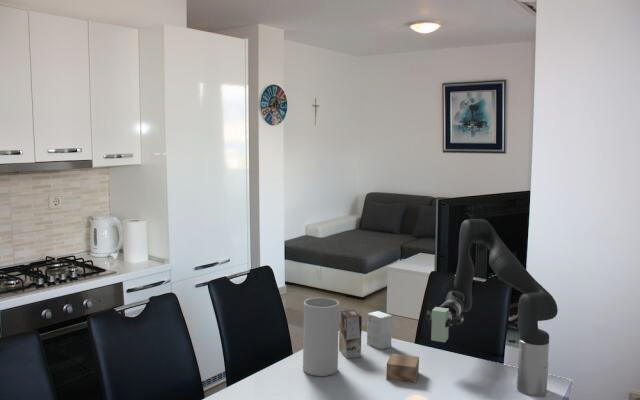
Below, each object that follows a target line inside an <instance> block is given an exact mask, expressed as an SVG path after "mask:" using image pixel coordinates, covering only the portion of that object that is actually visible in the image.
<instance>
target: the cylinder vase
mask: <svg viewBox="0 0 640 400" xmlns="http://www.w3.org/2000/svg"><path fill="white" fill-rule="evenodd" d="M339 309H340V302H339V300H337V299H334V298H331V297H330V298H329V297H313V298H312V297H311V298H307V299H305V300H304V301H303V338H302V339H303V341H302V343H303V346H302V348H303V349H302V350H303V351H302V352H303V353H302V355H303V356H302V358H303V359H302V369H303V372H305V373H306V374H308V375H311V376H313V377H328V376H331V375H333V374H335V373H337V371H338V369H339V318H340V311H339Z"/></svg>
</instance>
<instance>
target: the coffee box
mask: <svg viewBox="0 0 640 400" xmlns="http://www.w3.org/2000/svg"><path fill="white" fill-rule="evenodd" d="M362 319H363V318H362V315H361V314H360V313H359V312H357V311H356V310H355V309H349V310H348V309H347V310H340V311H339V325H338V352H340V353H341V354H342V355H343V356H344V357H345V358H346V359H351V358H361V356H362V328H363V327H362V321H363V320H362Z"/></svg>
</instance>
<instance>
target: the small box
mask: <svg viewBox="0 0 640 400" xmlns="http://www.w3.org/2000/svg"><path fill="white" fill-rule="evenodd" d="M392 320H393V316H392V314H388V313H385V312H383V311H380V310H377V311H372V312H368V313H367V321H366V322H367V323H366V324H367V325H366V344H367V346H368V345H369V346H371V347H373V348H377V349H378V350H384V349H386V348H389V347H392V329H393V328H392V327H393V323H392V322H393V321H392Z"/></svg>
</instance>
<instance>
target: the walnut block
mask: <svg viewBox="0 0 640 400" xmlns="http://www.w3.org/2000/svg"><path fill="white" fill-rule="evenodd" d="M419 364H420V356H416V355H415V356H414V355H405V354H398V353H390V355H389V358H388V359H387V362H386V369H385V370H386V374H385V376H386V377H385V380H386V381H392V382H400V383H407V384H415V385H416V383H417V380H418V379H417V378H418V377H419V376H418V375H419V371H420V370H419V368H420V365H419Z"/></svg>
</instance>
